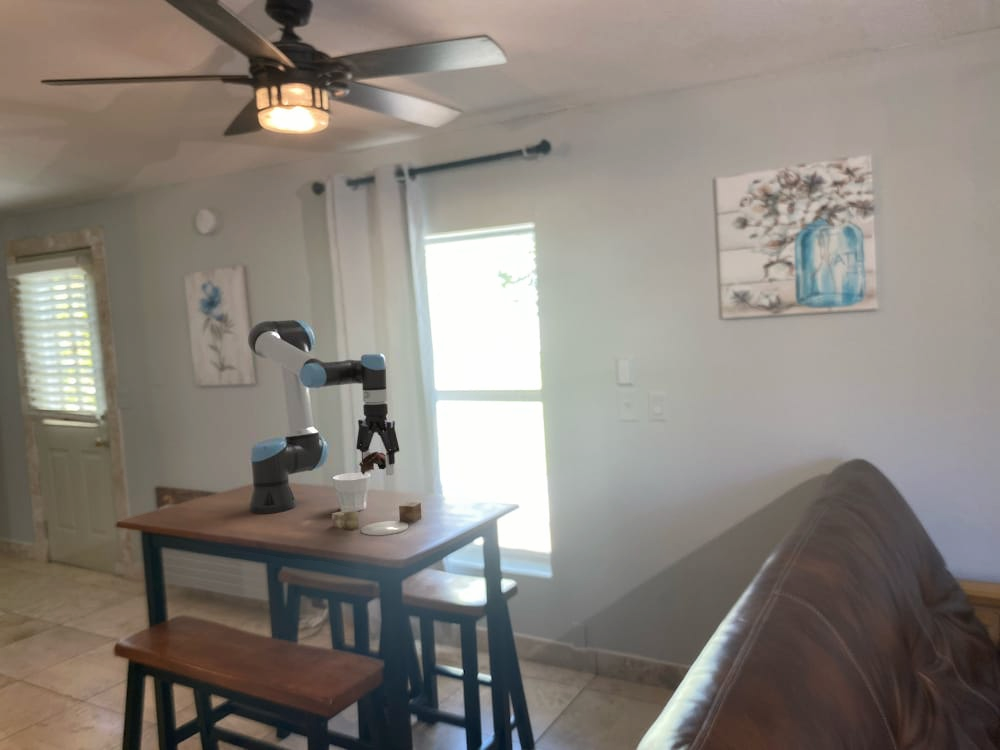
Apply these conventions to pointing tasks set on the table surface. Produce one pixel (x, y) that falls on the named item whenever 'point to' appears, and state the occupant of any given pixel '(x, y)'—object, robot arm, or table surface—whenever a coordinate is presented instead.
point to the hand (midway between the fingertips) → (378, 473)
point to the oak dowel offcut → (351, 520)
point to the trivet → (384, 528)
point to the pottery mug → (378, 459)
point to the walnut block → (410, 512)
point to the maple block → (339, 519)
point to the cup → (352, 490)
